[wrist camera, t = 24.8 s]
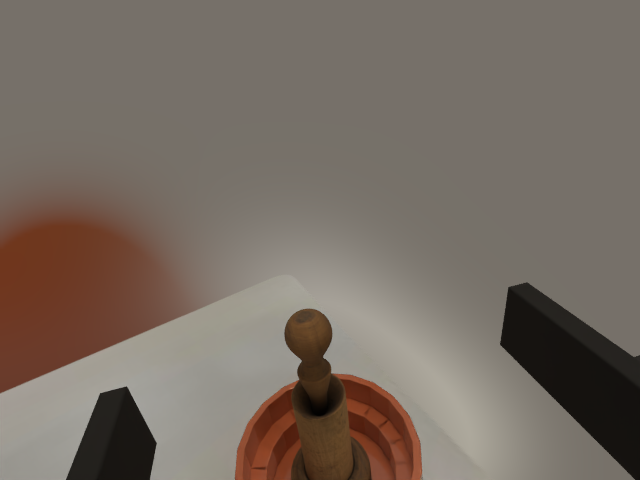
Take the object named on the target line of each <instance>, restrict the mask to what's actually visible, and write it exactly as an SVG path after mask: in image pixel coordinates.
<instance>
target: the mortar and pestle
mask: <svg viewBox="0 0 640 480" xmlns="http://www.w3.org/2000/svg"><path fill="white" fill-rule="evenodd" d="M331 340H332V328H331V324H330V322H329V320H328V319H327V318H326V316H325V315H324V314H322V313H321V312H319V311H317V310H314V309H303V310H300V311H298V312H296V313H294V314H293V315H292V316H291V317H290V319H289V320H288V322H287V324H286V327H285V341H286V344H287V346H288V347H289V349H290V350H291V351H292V352H293V353H294V354H295V355H296V356H297V357H299V358H300V359H301V360H302V362H301V363H300V365H299V367H298V370H297V373H298V377H299V381H298V382H297V383H296V385H295V386H294V388H293V391H292V395H291V401H292V406H293V410H294V415H295V419H296V423H297V428H298V433H299V438H300V442H301V447H300V449H299V450H298V452H297V453H296V455H295V458H294V460H293V464H292V468H291V480H372V477H371V467H370V461H369V458H368V455H367V453H366V451H365V449H364V448H363V446H362V445H361V444H360V443H359V442H358V441H357V440H356V439H355V438H353V437H351V436H350V429H349V420H348V410H347V401H346V391H345V387H344V385H343V383H342V381H341V380H340V379H339V378H338V377H337V376H335V375H333V374H331V365H330V363H329V362H328V361H327V360H326V359H324V358H323V355H324V354H325V352H326V351H327V349H328V347H329V345H330V343H331Z"/></svg>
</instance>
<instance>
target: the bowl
mask: <svg viewBox="0 0 640 480" xmlns="http://www.w3.org/2000/svg"><path fill="white" fill-rule="evenodd" d="M333 375H335V376H337V377H338V378H339V379H340V380H341V381H342V383H343V385H344V387H345V391H346V401H347V410H348V420H349V429H350V436H351V437H353V438H355V439H356V440H357V441H358V442H359V443H360V444H361V445H362V446H363V448H364V449H365V451H366V453H367V455H368V458H369V461H370V467H371V477H372V480H422V462H421V446H420V440H419V438H418V435H417V433H416V430H415V428H414V425H413V423H412V420H411V418H410V416H409V415H408V413H407V412H406V411H405V410H404V409H403V407H402V406H401V405H400V404H399V402H398V401H397V400H396V399H395V398H394V397H393V396H392V395H391V394H389V393H388V392H387V391H385V390H384V389H382V388H381V387H379V386H378V385H376V384H375V383H373V382H370V381H367V380H365V379H362V378H359V377H356V376H353V375H345V374H333ZM298 381H299V380H298ZM298 381H296V382H294V383H291V384H289V385H287V386H285V387H283V388H282V389H280V390H279V391H278V392H277V393H275V394H274V395H273V396H272V397H270V398H269V399H268V400H266V401H265V402H264V403H263V404H262V405H261V407H260V408H259V409H258V411H257V412H256V413H255V415H254V416H253V417H252V419H251V420H250V421H249V423H248V424H247V426H246V429H245V432H244V434H243V437H242V439H241V442H240V444H239V447H238V450H237V460H236V472H235V480H291V468H292V464H293V460H294V458H295V455H296V453H297V452H298V450H299V449H300V447H301V442H300V438H299V433H298V428H297V423H296V419H295V415H294V410H293V406H292V401H291V395H292V391H293V388H294V386H295V385H296V383H297V382H298Z"/></svg>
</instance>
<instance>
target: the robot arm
mask: <svg viewBox="0 0 640 480" xmlns="http://www.w3.org/2000/svg"><path fill="white" fill-rule="evenodd" d="M500 345H501V346H502V347H503V348H504V349H505V350H506V351H507V352H508V353H509V354H510V355H511V356H512V357H513V358H514V359H515V360H516V361H517V362H518V363H519V364H520V365H521V366H522V367H523V368H524V369H525V370H526V371H527V372H528V373H529V374H530V375H531V376H532V377H533V378H534V379H535V380H536V381H537V382H538V383H539V384H540V385H541V386H542V387H543V388H544V389H545V390H546V391H547V392H548V393H549V394H550V395H551V396H552V397H553V398H554V399H555V400H556V401H557V402H558V403H559V404H560V405H561V406H562V407H563V408H564V409H565V410H566V411H567V412H568V413H569V414H570V415H571V416H572V417H573V418H574V419H575V420H576V421H577V422H578V423H579V424H580V425H581V426H582V427H583V428H584V429H585V430H586V431H587V432H588V433H589V434H590V435H591V436H592V437H593V438H594V439H595V440H596V441H597V442H598V443H599V444H600V445H601V446H602V447H603V448H604V449H605V450H606V451H607V452H608V453H609V454H610V455H611V456H612V457H613V458H614V459H615V460H616V461H617V462H618V463H619V464H620V465H621V466H622V467H623V468H624V469H625V470H626V471H627V472H628V473H629V474H630V475H631V476H632V477H633V478H634V479H635V480H640V355H639V356H636V357H633V356H631V355H630V354H628V353H627V352H626V351H624V350H623V349H621V348H620V347H618V346H617V345H616V344H614V343H613V342H611V341H610V340H608V339H607V338H606V337H604V336H603V335H601V334H600V333H598V332H597V331H596V330H594V329H593V328H591V327H590V326H588V325H587V324H586V323H584V322H583V321H581V320H580V319H579V318H577V317H576V316H574V315H573V314H571V313H570V312H569V311H567V310H565V309H564V308H563V307H561V306H560V305H559V304H557V303H556V302H554V301H553V300H551V299H550V298H549V297H547V296H546V295H544V294H543V293H541V292H540V291H539V290H537V289H535V288H534V287H533V286H531V285H530V284H529V283H523V284H519V285H515V286H511V287H509V288H508V294H507V301H506V308H505V315H504V322H503V329H502V336H501V343H500ZM156 444H157V443H156V441H155V439H154V437H153V435H152V434H151V432H150V430H149V428H148V426H147V424H146V422H145V420H144V418H143V416H142V414H141V413H140V411H139V409H138V407H137V405H136V403H135V401H134V399H133V397H132V395H131V393H130V392H129V390H128V388H127V387H123V388H119V389H115V390H111V391H108V392H104V393H100V395H99V398H98V400H97V403H96V405H95V408H94V410H93V413H92V415H91V418H90V420H89V423H88V425H87V428H86V430H85V433H84V436H83V438H82V441H81V443H80V446H79V448H78V451H77V453H76V456H75V458H74V461H73V463H72V466H71V468H70V471H69V473H68V476H67V478H66V480H150V475H151V470H152V465H153V460H154V454H155V449H156Z"/></svg>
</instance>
